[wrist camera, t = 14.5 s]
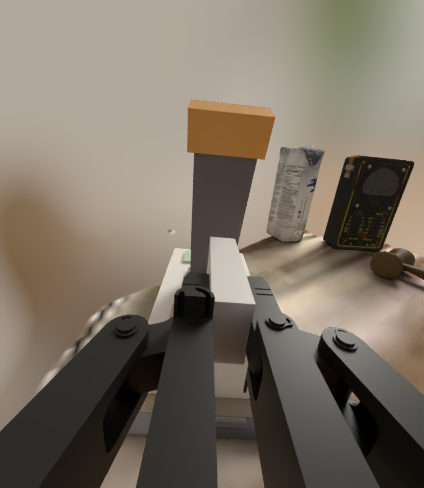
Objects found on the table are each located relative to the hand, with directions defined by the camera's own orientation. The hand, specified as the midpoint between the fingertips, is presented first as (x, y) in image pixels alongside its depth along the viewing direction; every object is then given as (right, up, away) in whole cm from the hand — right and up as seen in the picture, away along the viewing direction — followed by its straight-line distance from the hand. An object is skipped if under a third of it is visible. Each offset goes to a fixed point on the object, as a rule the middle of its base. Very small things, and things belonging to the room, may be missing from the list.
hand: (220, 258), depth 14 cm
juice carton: (+22, +3, +58) cm, 62 cm away
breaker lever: (-1, -3, +16) cm, 16 cm away
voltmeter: (+41, 0, +55) cm, 69 cm away
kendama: (+43, -7, +37) cm, 57 cm away
